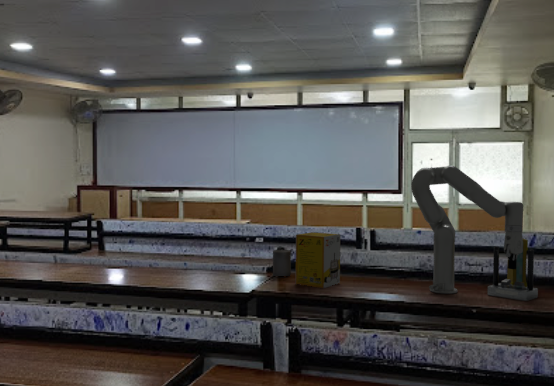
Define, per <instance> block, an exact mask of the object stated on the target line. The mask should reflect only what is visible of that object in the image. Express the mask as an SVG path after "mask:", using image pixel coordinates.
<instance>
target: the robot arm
mask: <svg viewBox="0 0 554 386" xmlns="http://www.w3.org/2000/svg"><path fill="white" fill-rule="evenodd" d="M446 184H447V185H448V186H450V187H451V188H453V189H454V190H455V191H457V192H458V193H459V194H461V196H463V197H465V199H467V200H469V202H473V203H474V204H475V205H476V206H478V208H480V209H481V210H483V211H484V212H486V214H488V215H489V216H491V217H493V218H495V219H498V218H502V217H504V232H505V234H504V243H503V252H504V253H505V256H506V257H507V264H508V269H516V263H517V256H518V255H519V254H520V253H522V252H523V239H524V238H523V229H524V228H523V226H524V225H523V223H524V221H523V220H524V203H523V202H521V201H502V200H499V199H497V198H496V197H495V196H493V195H492V194H491V193H490V192H488V191H487V190H486V189H484V188H483V187H482V186H481V185H480V183H478V182H477V181H476V180H474V179H473V178H471V177H470V176H468V174H466V173H464V172H463V171H462V170H461V169H459V168H458V167H457V166H455V165H451V164H450V165H446V166H438V167H437V166H436V167H422V168H420V169H419V170H417V171H416V173H414V176H413V177H412V180H411V193H412V195H413V198H414V200H415V202H416V204H417V206H418V208H419V210H420V211H421V214H422V216H423V218H424V221H426V222H427V224H429V226H430V228H431V230H432V232H433V270H432V271H433V273H432V275H433V276H432V277H433V281H432V284H431V285H429V286H428V288H429V291H430V292H432V293H435V294H445V295H446V294H448V295H451V294H452V295H453V294H457V293H458V289H457V288H455V249H456V248H455V247H456V246H455V245H456V243H455V241H456V229H455V228H454V226H453V224H452V221H450V219H449V217H448V215H447V212H446V211H445V209H444V207H442V205H440V204H439V203H438V202H437V200H436V198H435V196H434V194H433V192H432V190H431V189H430V188H431V186H432V185H433V186H435V185H446Z"/></svg>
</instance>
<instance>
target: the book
mask: <svg viewBox="0 0 554 386" xmlns="http://www.w3.org/2000/svg"><path fill="white" fill-rule="evenodd" d="M528 243H529V240H528V239H526V238H523V252H522V253H520V254H519V255H518V256H517V263H516V269H508V263H507V268H506V269H507V271H506V272H507V273H506V274H507V275H506V277H507V278H506V279H511V283H510V284H512V285H515V282H524V286H525V287H527V254H528V250H529V248H528V246H529V245H528Z"/></svg>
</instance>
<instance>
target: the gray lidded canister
mask: <svg viewBox="0 0 554 386" xmlns="http://www.w3.org/2000/svg"><path fill="white" fill-rule="evenodd" d="M291 254H292V253H291V250H289V249H275V250H272V276H273V277H274V276H289V277H291V276H292V272H291V271H292V270H291V268H292V266H291V264H292V262H291V260H292V259H291V257H292V256H291ZM290 275H291V276H290Z"/></svg>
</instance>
